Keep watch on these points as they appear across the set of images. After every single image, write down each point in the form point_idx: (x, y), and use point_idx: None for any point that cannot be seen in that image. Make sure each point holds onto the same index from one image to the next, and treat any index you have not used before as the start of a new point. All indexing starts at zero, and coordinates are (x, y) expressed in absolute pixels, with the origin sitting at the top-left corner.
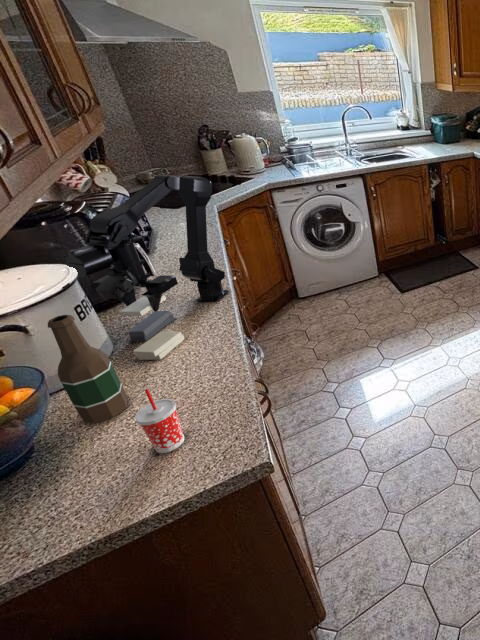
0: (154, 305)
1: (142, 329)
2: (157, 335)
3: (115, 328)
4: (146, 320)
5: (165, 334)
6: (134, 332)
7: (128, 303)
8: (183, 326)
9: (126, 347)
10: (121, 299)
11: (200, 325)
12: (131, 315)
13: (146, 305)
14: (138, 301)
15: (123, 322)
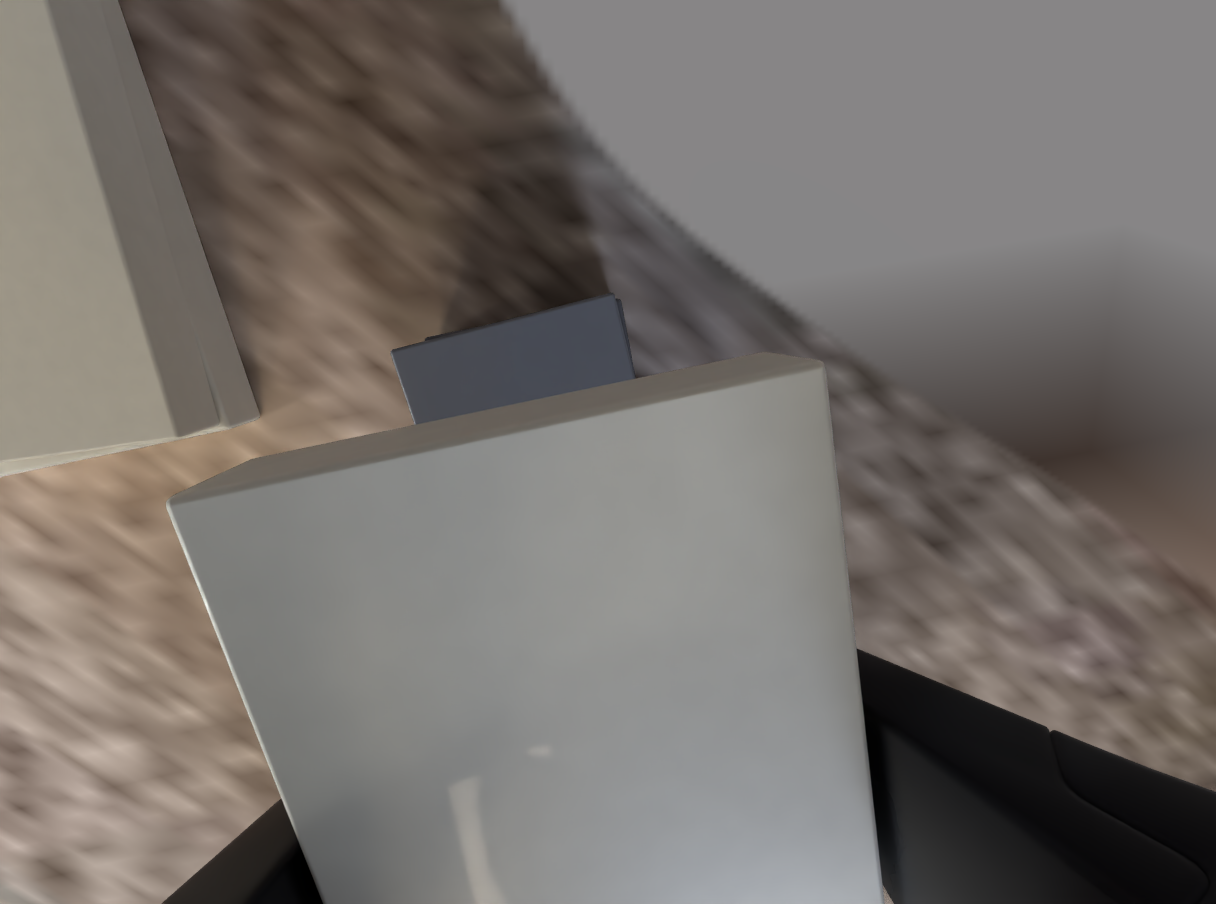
0: (215, 864)
1: (453, 388)
2: (97, 322)
3: (1010, 471)
4: None
5: (4, 371)
6: (524, 316)
7: (905, 747)
8: None
9: (544, 178)
10: (1194, 828)
11: (132, 723)
12: (498, 408)
13: (367, 808)
14: (792, 890)
15: (1023, 577)
